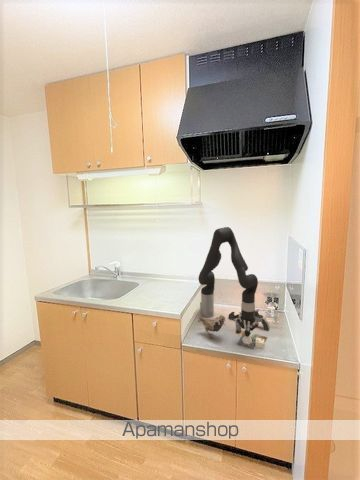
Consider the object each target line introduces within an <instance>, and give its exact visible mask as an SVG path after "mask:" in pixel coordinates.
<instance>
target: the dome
mask: <svg viewBox="0 0 360 480" xmlns="http://www.w3.org/2000/svg"><path fill="white" fill-rule="evenodd" d="M242 343H244V344H248V345H251V344H252V339H251V338H250V337H249V336H248V337H247V336H245V337H243V341H242Z"/></svg>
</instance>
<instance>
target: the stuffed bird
mask: <svg viewBox="0 0 360 480" xmlns="http://www.w3.org/2000/svg"><path fill="white" fill-rule="evenodd" d="M225 321H226V316H225V315H223V314H220V315H219V316H216V317H215V318H213V319H212V318H203V317H200V316H198V319H197V322H198V323H199V324H201V325H203V326H204V328H205V332H206V333H207V335H208V337H209V339H210V340H211V339H215V338H214V336H213V334H212V333H210V332H216V333H217V332H219V331H220V330H221V329H222V326H223V325H224V326H226V324H225V323H224V322H225Z"/></svg>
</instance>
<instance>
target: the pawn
mask: <svg viewBox="0 0 360 480" xmlns="http://www.w3.org/2000/svg"><path fill="white" fill-rule="evenodd" d="M235 330H236V333H241V330H242V328H241V326H240V325H239V323H238V322H237V319H235Z"/></svg>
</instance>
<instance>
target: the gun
mask: <svg viewBox="0 0 360 480" xmlns="http://www.w3.org/2000/svg"><path fill="white" fill-rule="evenodd" d="M259 311H260V309H259V308H258V309H255V321H256V322H257V323H261V325H262V327H263V330H264V331H267V332H269V331H270V323H269V322H268V320H267V319H266V318H265V317H264V315H263V314H259ZM240 317H241V311H239V314H238V313H237V314H236V315H235V311H231V312H230V313H229V314H228V317H227V318H228V320H231V321H234V322H236V320H237V319H238V318H240ZM253 326H254V323H253V324H252V325H251V327H253Z"/></svg>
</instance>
